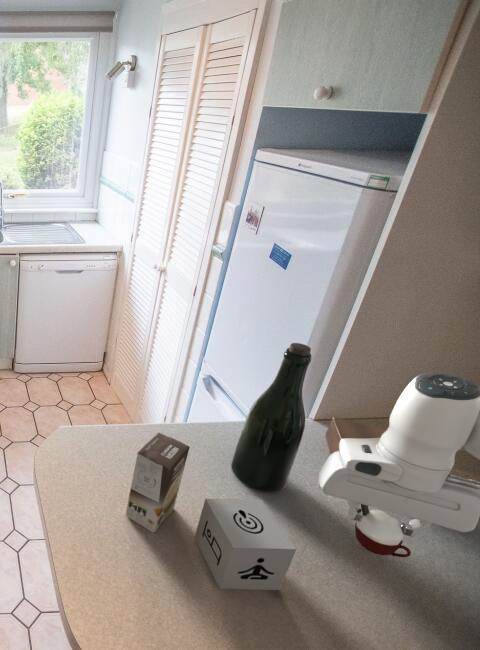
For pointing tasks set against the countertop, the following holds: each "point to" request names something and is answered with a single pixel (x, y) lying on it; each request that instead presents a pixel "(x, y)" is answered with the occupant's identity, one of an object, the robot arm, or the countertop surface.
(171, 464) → the coffee box
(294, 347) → the beer bottle
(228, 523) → the icon cube
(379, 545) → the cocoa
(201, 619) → the countertop surface
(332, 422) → the walnut block
